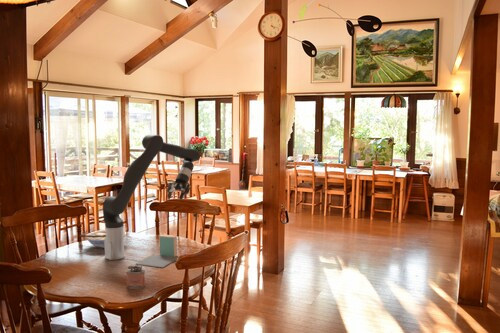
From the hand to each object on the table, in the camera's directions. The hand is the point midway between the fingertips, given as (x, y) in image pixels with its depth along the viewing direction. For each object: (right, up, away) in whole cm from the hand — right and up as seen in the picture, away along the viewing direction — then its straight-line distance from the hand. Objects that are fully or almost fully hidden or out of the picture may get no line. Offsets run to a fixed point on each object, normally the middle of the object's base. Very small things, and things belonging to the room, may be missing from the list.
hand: (174, 198), depth 237 cm
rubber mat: (-4, -31, -24) cm, 40 cm away
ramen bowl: (-41, -29, +2) cm, 50 cm away
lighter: (-6, -35, -59) cm, 68 cm away
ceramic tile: (-1, -30, -14) cm, 34 cm away
